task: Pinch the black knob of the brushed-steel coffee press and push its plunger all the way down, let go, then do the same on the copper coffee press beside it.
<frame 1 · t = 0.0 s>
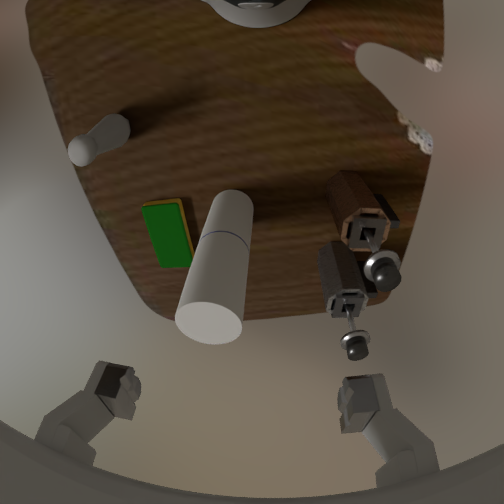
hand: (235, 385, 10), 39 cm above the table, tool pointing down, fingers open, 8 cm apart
copper press carafe: (345, 189, 46), on the table
cylindrical container: (232, 207, 50), on the table
steel press plunger: (351, 321, 42), point 16 cm above the table, slide at 0.0 cm
steel press carafe: (334, 256, 55), on the table
dish sponge: (171, 230, 54), on the table
copper press plunger: (373, 246, 33), point 16 cm above the table, slide at 0.0 cm
salt shaker: (120, 127, 41), on the table
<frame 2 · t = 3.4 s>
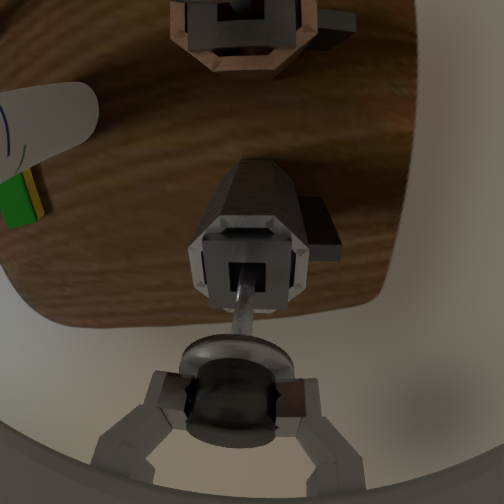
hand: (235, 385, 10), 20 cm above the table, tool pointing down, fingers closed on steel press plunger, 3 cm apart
copper press carafe: (254, 46, 20), on the table
cylindrical container: (73, 113, 23), on the table
steel press plunger: (243, 312, 14), point 16 cm above the table, slide at 0.0 cm, touching gripper
steel press carafe: (256, 193, 27), on the table
dish sponge: (17, 170, 27), on the table
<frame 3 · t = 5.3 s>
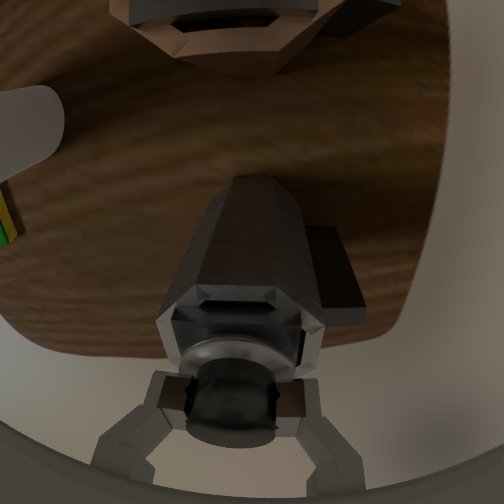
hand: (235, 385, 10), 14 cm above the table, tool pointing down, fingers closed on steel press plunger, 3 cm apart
copper press carafe: (250, 32, 15), on the table
cylindrical container: (38, 122, 18), on the table
steel press plunger: (243, 312, 14), point 10 cm above the table, slide at 5.8 cm, touching gripper
steel press carafe: (254, 218, 22), on the table
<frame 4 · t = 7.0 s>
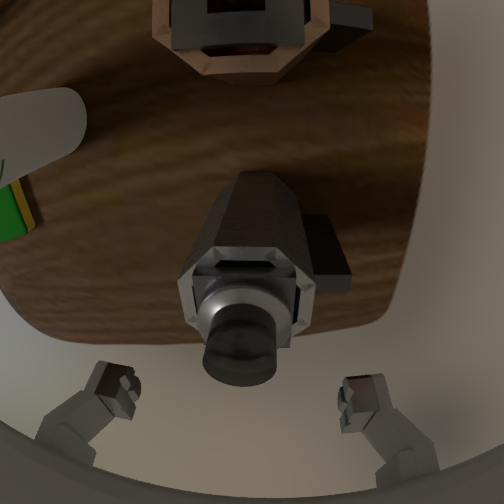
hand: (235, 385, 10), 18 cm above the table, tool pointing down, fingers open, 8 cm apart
copper press carafe: (254, 47, 18), on the table
cylindrical container: (60, 121, 22), on the table
steel press plunger: (249, 278, 16), point 10 cm above the table, slide at 5.9 cm
steel press carafe: (256, 209, 25), on the table
dish sponge: (6, 180, 25), on the table
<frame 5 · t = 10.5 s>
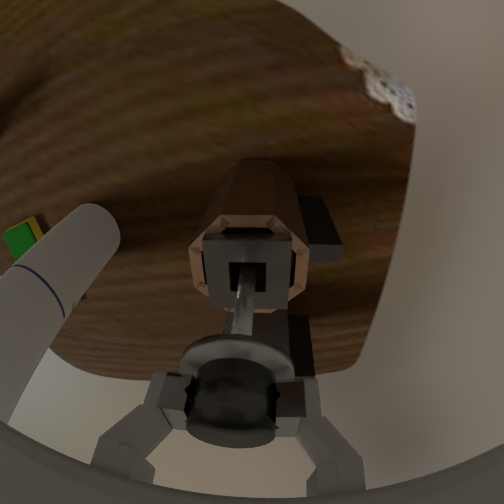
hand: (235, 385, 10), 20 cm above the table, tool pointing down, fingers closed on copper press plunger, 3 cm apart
copper press carafe: (257, 193, 27), on the table
cylindrical container: (95, 230, 31), on the table
steel press carafe: (257, 305, 35), on the table
dish sponge: (44, 261, 34), on the table
copper press plunger: (243, 312, 14), point 16 cm above the table, slide at 0.0 cm, touching gripper
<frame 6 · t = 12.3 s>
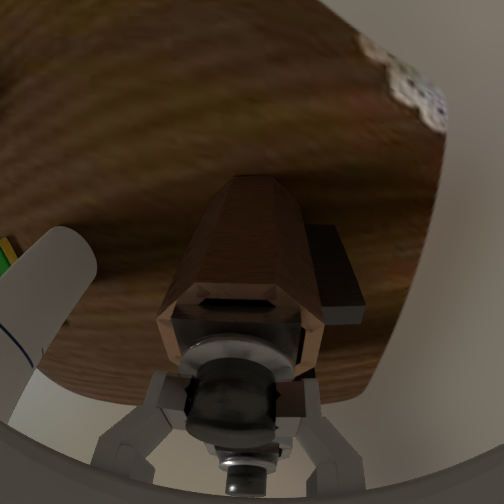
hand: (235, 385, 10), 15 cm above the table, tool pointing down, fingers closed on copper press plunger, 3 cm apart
copper press carafe: (253, 217, 22), on the table
cylindrical container: (70, 256, 26), on the table
steel press plunger: (250, 428, 21), point 10 cm above the table, slide at 5.9 cm
steel press carafe: (255, 340, 30), on the table
dish sponge: (22, 284, 29), on the table
copper press plunger: (243, 312, 14), point 10 cm above the table, slide at 5.8 cm, touching gripper
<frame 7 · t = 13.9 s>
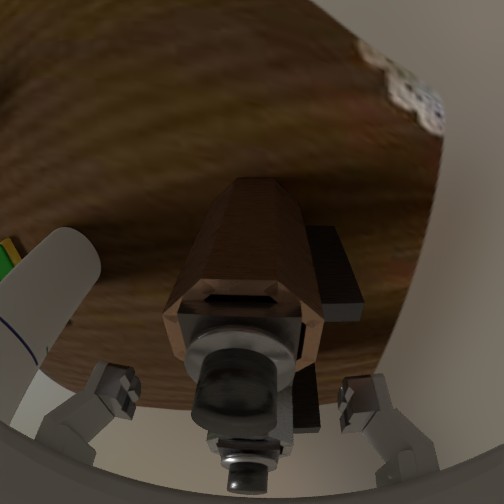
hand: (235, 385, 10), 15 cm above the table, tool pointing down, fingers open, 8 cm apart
copper press carafe: (255, 219, 23), on the table
cylindrical container: (74, 256, 26), on the table
steel press plunger: (251, 426, 21), point 10 cm above the table, slide at 5.9 cm
steel press carafe: (257, 340, 30), on the table
dish sponge: (25, 284, 30), on the table
copper press plunger: (246, 307, 14), point 10 cm above the table, slide at 5.9 cm
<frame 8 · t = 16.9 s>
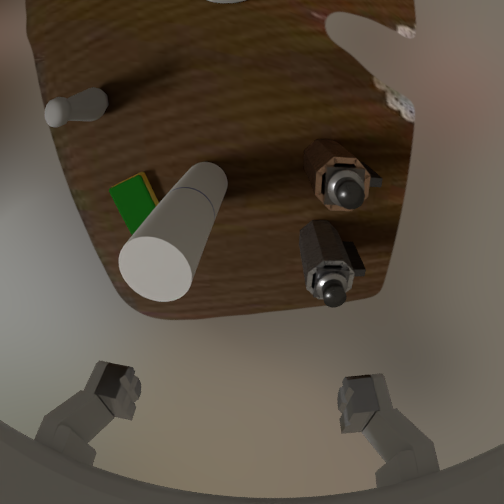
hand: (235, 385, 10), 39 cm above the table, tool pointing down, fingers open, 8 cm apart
copper press carafe: (324, 159, 43), on the table
cylindrical container: (206, 182, 47), on the table
steel press plunger: (327, 271, 42), point 10 cm above the table, slide at 5.9 cm
steel press carafe: (318, 237, 51), on the table
dish sponge: (145, 210, 50), on the table
copper press plunger: (339, 179, 35), point 10 cm above the table, slide at 5.9 cm
salt shaker: (99, 102, 39), on the table
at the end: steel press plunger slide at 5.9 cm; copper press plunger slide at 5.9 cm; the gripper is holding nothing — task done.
